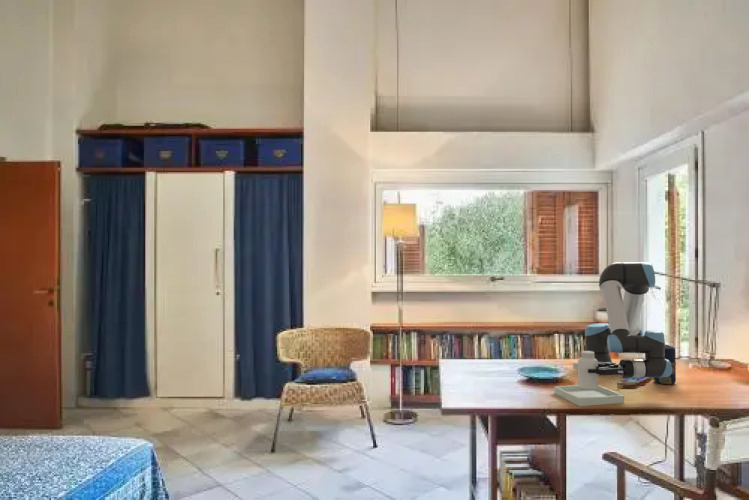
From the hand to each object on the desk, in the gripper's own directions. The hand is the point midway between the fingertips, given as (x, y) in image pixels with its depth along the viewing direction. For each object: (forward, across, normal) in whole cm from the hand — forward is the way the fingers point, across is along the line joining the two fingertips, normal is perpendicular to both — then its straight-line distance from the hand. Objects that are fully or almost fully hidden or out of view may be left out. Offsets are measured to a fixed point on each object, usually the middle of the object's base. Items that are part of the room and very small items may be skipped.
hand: (576, 368), depth 237 cm
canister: (-48, +26, -13) cm, 56 cm away
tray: (-5, 0, -13) cm, 14 cm away
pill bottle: (-5, 0, -8) cm, 9 cm away
